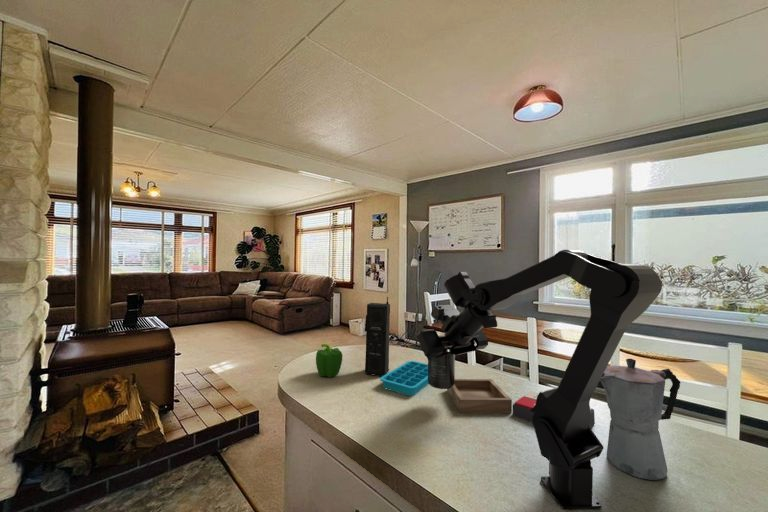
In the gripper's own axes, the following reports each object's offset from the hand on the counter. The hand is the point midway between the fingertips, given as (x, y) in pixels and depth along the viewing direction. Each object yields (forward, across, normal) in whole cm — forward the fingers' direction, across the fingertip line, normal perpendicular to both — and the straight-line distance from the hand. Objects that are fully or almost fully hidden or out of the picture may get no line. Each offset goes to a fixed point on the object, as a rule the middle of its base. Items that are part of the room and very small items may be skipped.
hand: (438, 356), depth 82 cm
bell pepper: (+30, +20, -13) cm, 39 cm away
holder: (+6, -11, +11) cm, 17 cm away
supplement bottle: (+4, 0, +6) cm, 7 cm away
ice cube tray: (+20, -2, -2) cm, 20 cm away
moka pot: (-16, -19, +34) cm, 43 cm away
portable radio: (+27, +5, -10) cm, 30 cm away
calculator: (-4, -20, +22) cm, 30 cm away
